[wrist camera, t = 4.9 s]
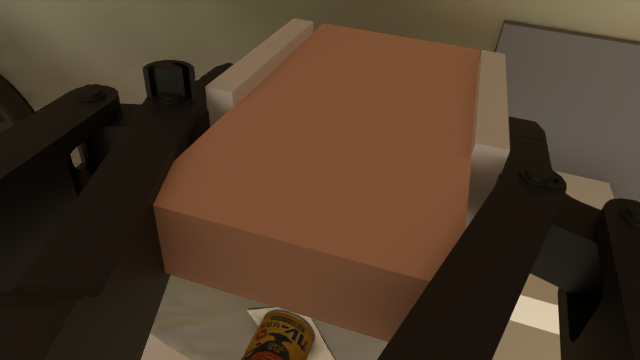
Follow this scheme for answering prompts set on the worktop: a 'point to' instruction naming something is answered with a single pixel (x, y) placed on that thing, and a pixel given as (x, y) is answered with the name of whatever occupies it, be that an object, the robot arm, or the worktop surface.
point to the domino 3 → (540, 295)
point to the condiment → (285, 337)
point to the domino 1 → (330, 181)
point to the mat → (578, 100)
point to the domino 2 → (527, 344)
